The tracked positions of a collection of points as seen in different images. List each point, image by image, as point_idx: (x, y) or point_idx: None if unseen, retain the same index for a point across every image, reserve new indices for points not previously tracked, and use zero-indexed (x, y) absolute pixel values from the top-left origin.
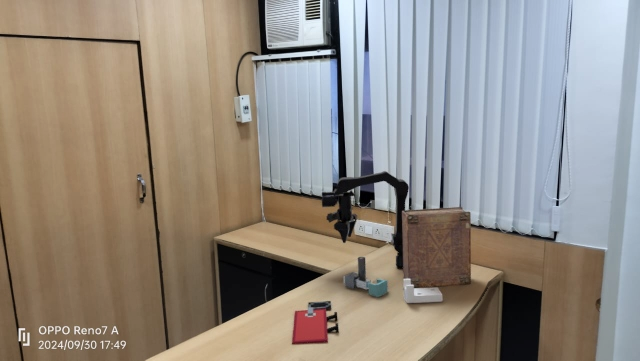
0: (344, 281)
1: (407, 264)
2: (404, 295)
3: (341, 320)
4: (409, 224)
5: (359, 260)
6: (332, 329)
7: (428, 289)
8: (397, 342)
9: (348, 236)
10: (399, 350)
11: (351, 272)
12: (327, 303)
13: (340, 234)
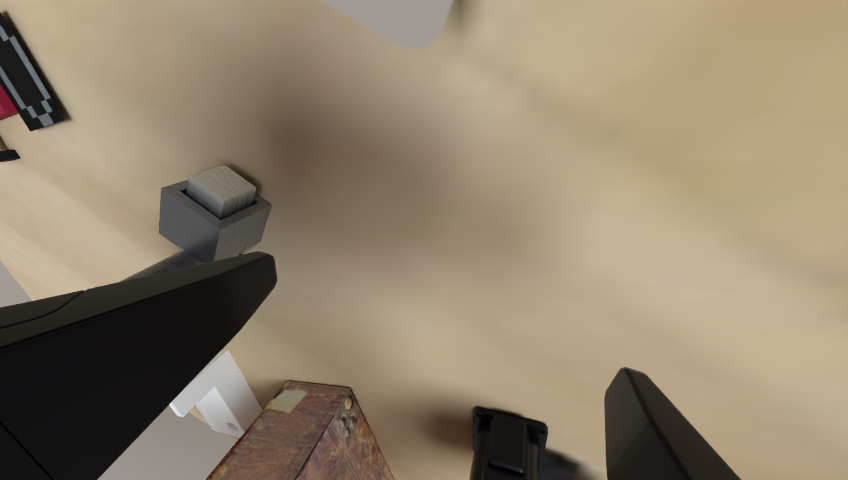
0: (214, 171)
1: (236, 463)
2: None
3: (22, 171)
4: None
5: None
6: None
7: (229, 420)
8: (45, 288)
9: (623, 375)
10: (29, 286)
11: (210, 225)
12: (43, 109)
13: (1, 314)
